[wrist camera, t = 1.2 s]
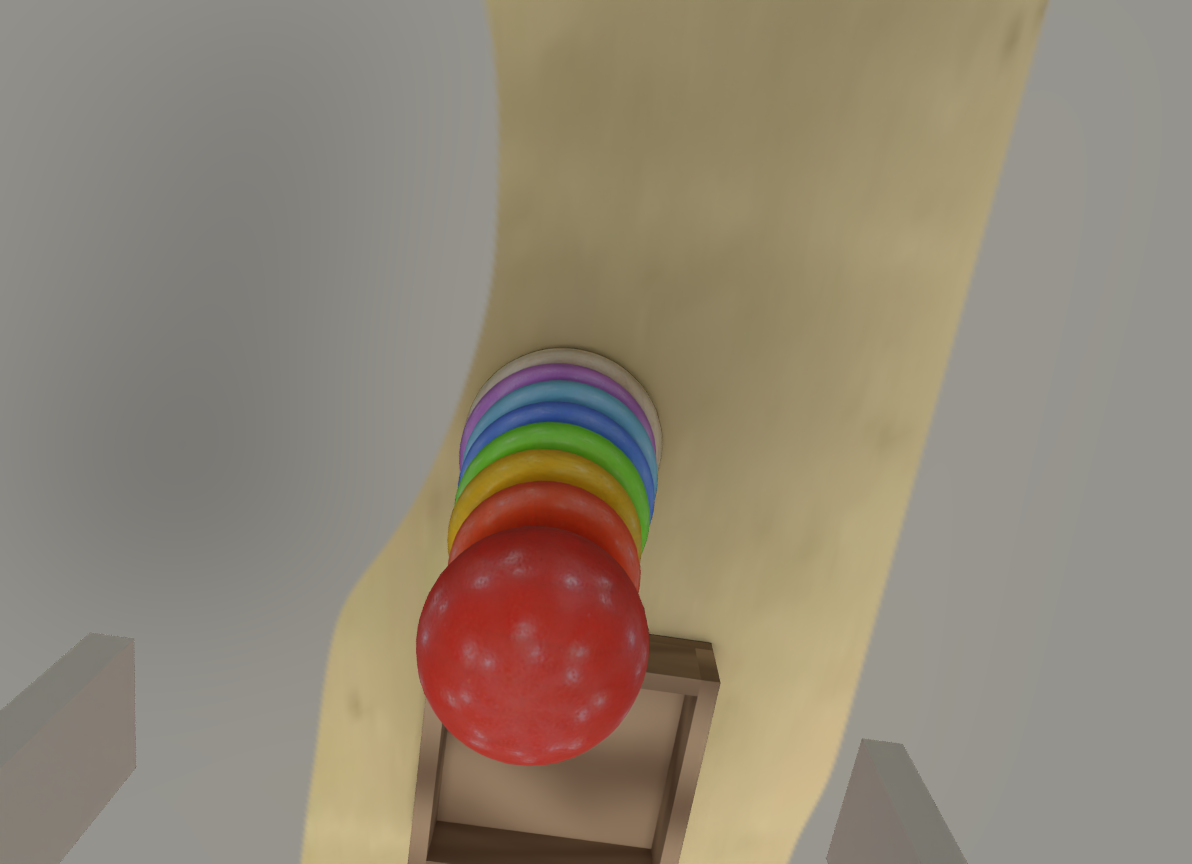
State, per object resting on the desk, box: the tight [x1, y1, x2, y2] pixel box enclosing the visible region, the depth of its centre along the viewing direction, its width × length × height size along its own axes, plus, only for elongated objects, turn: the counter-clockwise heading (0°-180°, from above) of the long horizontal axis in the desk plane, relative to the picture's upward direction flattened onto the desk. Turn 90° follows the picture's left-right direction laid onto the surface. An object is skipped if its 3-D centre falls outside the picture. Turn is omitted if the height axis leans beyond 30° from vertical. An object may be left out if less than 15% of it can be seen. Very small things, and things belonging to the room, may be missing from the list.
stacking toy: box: [416, 348, 662, 766], centre depth 24 cm, size 8×8×19 cm
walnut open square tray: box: [408, 634, 720, 864], centre depth 36 cm, size 12×12×3 cm
